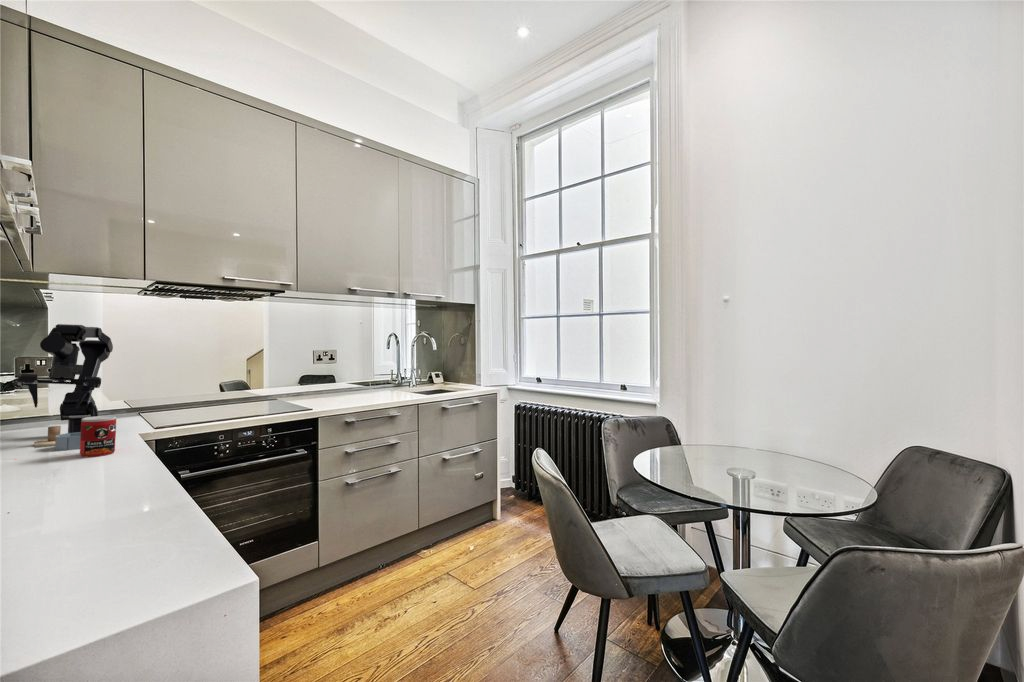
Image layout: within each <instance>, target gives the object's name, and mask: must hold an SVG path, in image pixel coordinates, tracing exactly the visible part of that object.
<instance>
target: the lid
mask: <svg viewBox="0 0 1024 682" xmlns="http://www.w3.org/2000/svg"><path fill="white" fill-rule="evenodd" d="M61 427H62V426H61V425H51V426H47V438H46V439H40V440H36V441H34V442H33V446H34V447H35V446H51V447H55V439H56V435H61V429H62V428H61Z"/></svg>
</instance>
